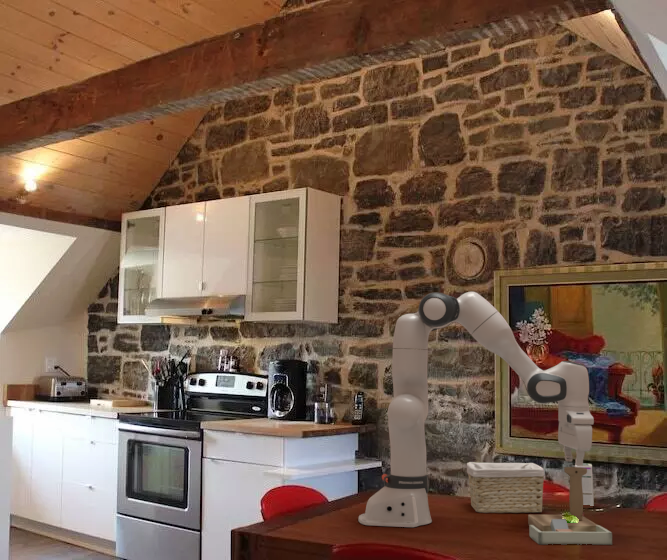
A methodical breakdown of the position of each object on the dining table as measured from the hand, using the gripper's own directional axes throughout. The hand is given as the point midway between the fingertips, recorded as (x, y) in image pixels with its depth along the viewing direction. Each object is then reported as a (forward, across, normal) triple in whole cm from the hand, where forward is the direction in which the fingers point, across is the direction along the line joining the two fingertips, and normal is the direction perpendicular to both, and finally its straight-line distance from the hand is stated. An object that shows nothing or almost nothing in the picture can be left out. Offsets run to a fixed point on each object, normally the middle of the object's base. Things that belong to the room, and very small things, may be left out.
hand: (573, 463), depth 235 cm
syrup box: (+20, -37, +16) cm, 45 cm away
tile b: (+18, +9, -7) cm, 21 cm away
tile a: (+16, +15, -7) cm, 23 cm away
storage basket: (+20, -33, -13) cm, 41 cm away
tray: (+19, +13, -6) cm, 24 cm away
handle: (+17, 0, +1) cm, 17 cm away
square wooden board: (+20, 0, -3) cm, 20 cm away
